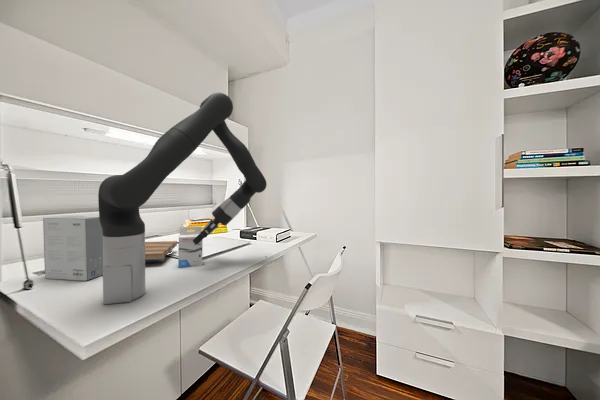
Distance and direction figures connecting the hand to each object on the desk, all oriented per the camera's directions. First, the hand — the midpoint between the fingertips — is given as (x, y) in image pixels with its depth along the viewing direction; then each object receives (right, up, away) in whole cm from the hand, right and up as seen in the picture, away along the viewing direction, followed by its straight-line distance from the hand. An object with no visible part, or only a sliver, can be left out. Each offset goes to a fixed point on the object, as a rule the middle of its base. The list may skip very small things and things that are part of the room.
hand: (196, 240), depth 91 cm
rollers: (-21, -9, +6) cm, 24 cm away
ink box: (-2, -10, 0) cm, 10 cm away
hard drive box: (-34, -10, -14) cm, 38 cm away
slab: (-21, -6, +6) cm, 23 cm away
